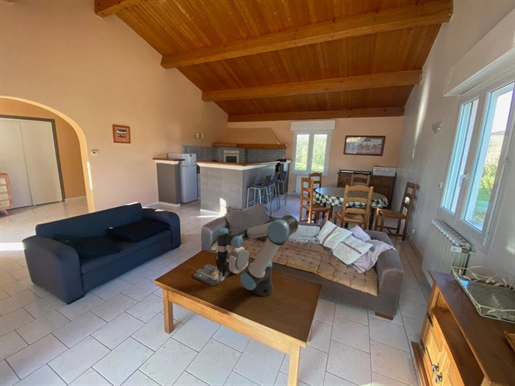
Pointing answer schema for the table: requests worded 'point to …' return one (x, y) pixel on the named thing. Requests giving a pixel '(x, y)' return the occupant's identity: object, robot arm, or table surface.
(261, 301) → the table surface
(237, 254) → the alarm clock
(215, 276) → the fader
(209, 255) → the table surface
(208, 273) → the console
